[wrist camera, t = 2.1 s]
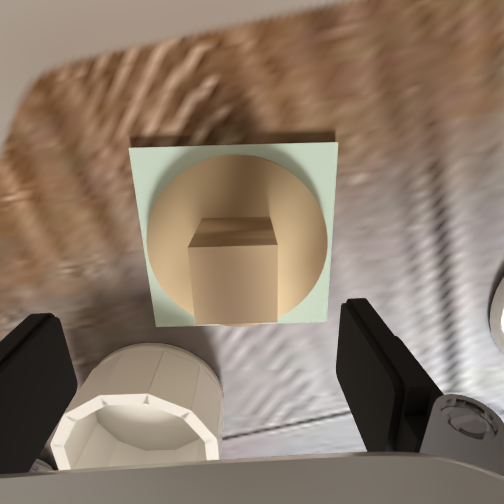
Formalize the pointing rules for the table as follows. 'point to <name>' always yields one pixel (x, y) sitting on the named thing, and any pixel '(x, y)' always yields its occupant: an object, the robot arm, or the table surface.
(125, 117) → the table surface
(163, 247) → the lid
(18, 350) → the robot arm
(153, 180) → the mat
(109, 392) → the bowl
